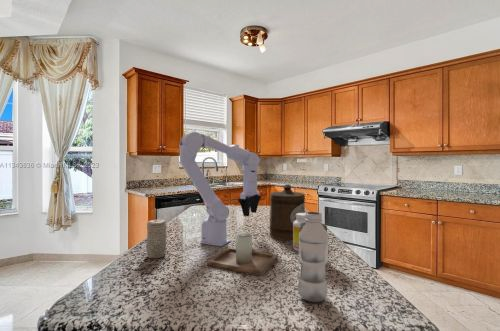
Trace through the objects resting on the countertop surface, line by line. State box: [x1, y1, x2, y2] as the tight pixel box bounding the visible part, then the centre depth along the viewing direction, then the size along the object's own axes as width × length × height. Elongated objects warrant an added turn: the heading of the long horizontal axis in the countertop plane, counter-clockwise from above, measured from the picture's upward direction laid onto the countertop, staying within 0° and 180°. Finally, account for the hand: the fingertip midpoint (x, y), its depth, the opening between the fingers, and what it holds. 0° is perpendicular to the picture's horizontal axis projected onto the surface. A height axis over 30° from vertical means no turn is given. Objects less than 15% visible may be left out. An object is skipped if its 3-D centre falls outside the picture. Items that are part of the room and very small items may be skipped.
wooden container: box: [269, 184, 306, 241], centre depth 113 cm, size 15×15×22 cm
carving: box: [145, 218, 168, 260], centre depth 88 cm, size 6×8×12 cm
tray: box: [206, 246, 279, 278], centre depth 83 cm, size 18×14×2 cm
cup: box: [235, 232, 253, 264], centre depth 83 cm, size 5×5×8 cm
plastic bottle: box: [297, 211, 329, 303], centre depth 61 cm, size 6×7×20 cm
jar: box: [298, 222, 329, 266], centre depth 83 cm, size 9×8×12 cm
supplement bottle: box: [292, 212, 306, 252], centre depth 96 cm, size 7×7×13 cm
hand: (250, 214), depth 109 cm, fingers open, 7 cm apart
